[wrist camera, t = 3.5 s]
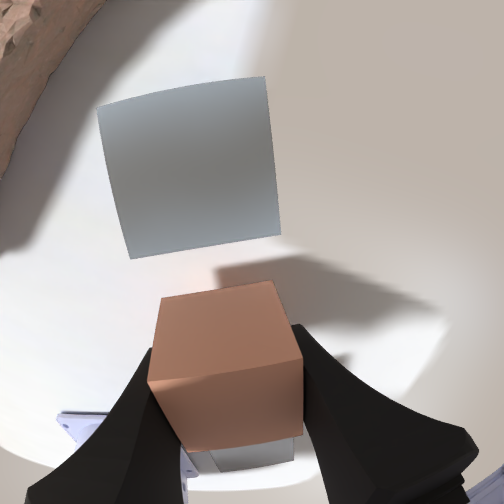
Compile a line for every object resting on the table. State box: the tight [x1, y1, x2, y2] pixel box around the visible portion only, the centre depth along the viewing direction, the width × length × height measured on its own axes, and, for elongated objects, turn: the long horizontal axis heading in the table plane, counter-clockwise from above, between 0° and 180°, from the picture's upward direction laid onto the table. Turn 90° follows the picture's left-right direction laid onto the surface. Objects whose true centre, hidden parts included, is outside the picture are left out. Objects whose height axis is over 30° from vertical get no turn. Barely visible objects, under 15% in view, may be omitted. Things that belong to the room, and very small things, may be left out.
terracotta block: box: [147, 280, 303, 452], centre depth 10 cm, size 4×4×4 cm
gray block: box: [209, 437, 294, 472], centre depth 14 cm, size 4×4×4 cm
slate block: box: [97, 76, 281, 260], centre depth 9 cm, size 4×4×4 cm
